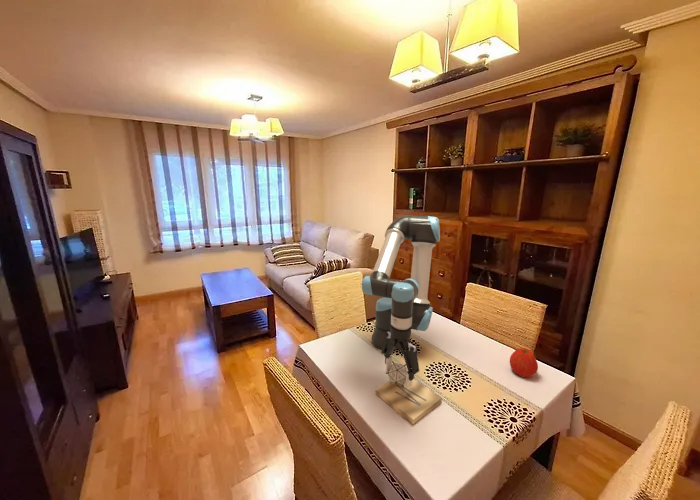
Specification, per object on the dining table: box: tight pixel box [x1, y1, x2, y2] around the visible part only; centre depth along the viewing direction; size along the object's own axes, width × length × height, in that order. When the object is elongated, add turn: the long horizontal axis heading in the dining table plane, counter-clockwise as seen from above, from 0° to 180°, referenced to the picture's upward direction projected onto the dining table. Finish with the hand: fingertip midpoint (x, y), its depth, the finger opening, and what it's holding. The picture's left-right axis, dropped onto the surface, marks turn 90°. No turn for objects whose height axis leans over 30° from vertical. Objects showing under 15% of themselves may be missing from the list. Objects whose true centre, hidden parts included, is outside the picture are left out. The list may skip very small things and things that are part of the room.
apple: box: [509, 347, 539, 378], centre depth 118 cm, size 10×10×10 cm
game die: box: [385, 360, 408, 387], centre depth 107 cm, size 9×8×10 cm
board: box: [375, 378, 443, 425], centre depth 105 cm, size 18×16×2 cm
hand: (398, 379), depth 107 cm, fingers closed on game die, 9 cm apart
